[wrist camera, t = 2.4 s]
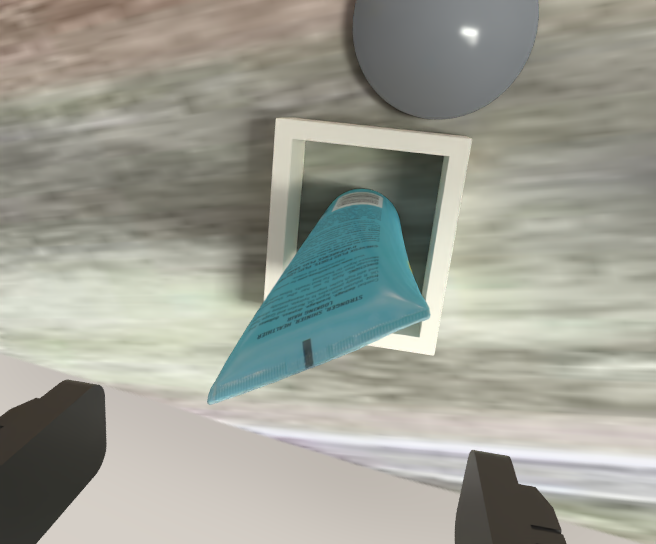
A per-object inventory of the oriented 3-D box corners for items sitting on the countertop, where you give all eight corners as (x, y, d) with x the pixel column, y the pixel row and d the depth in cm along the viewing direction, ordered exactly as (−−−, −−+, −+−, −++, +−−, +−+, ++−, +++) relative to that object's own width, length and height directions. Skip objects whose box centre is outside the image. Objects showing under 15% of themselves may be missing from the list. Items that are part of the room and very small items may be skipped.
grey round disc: (554, -69, 28) (558, -74, 27) (514, 127, 31) (517, 128, 30) (364, -81, 29) (363, -86, 28) (345, 110, 32) (343, 110, 31)
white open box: (464, 135, 31) (472, 139, 27) (431, 329, 35) (434, 355, 31) (291, 117, 32) (275, 117, 28) (277, 306, 36) (261, 328, 32)
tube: (333, 283, 35) (250, 467, 17) (295, 221, 34) (163, 344, 16) (433, 229, 33) (462, 372, 15) (395, 162, 32) (377, 225, 14)
